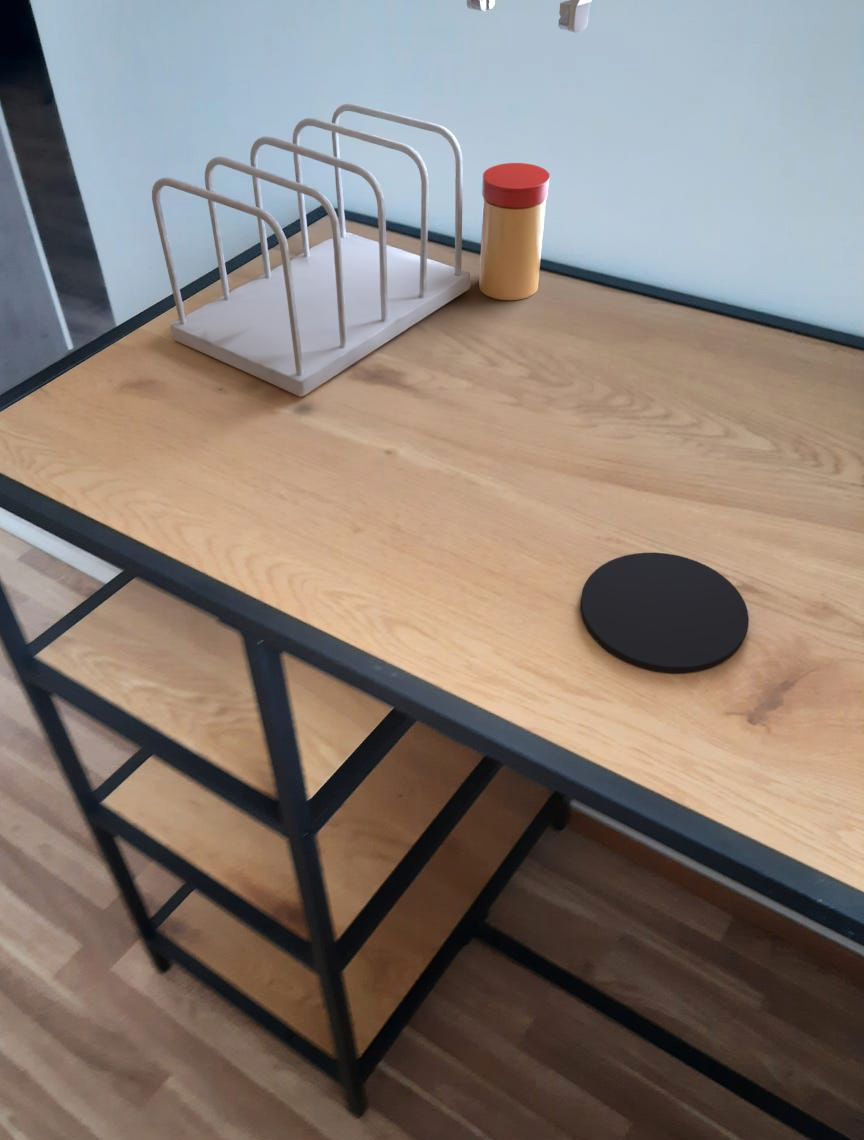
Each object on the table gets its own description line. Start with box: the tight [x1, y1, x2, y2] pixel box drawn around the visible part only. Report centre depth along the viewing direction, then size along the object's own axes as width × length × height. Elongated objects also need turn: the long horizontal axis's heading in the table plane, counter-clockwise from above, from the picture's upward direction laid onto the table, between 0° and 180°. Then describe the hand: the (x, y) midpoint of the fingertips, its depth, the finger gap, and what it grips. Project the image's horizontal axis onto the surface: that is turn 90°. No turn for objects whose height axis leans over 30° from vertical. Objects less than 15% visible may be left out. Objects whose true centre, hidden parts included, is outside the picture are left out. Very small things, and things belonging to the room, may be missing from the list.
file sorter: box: [151, 102, 471, 397], centre depth 87 cm, size 25×17×16 cm
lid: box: [481, 162, 550, 207], centre depth 89 cm, size 6×6×2 cm
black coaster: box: [579, 552, 750, 674], centre depth 63 cm, size 11×11×1 cm
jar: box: [478, 197, 547, 301], centre depth 92 cm, size 6×6×10 cm
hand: (525, 18), depth 73 cm, fingers open, 8 cm apart
